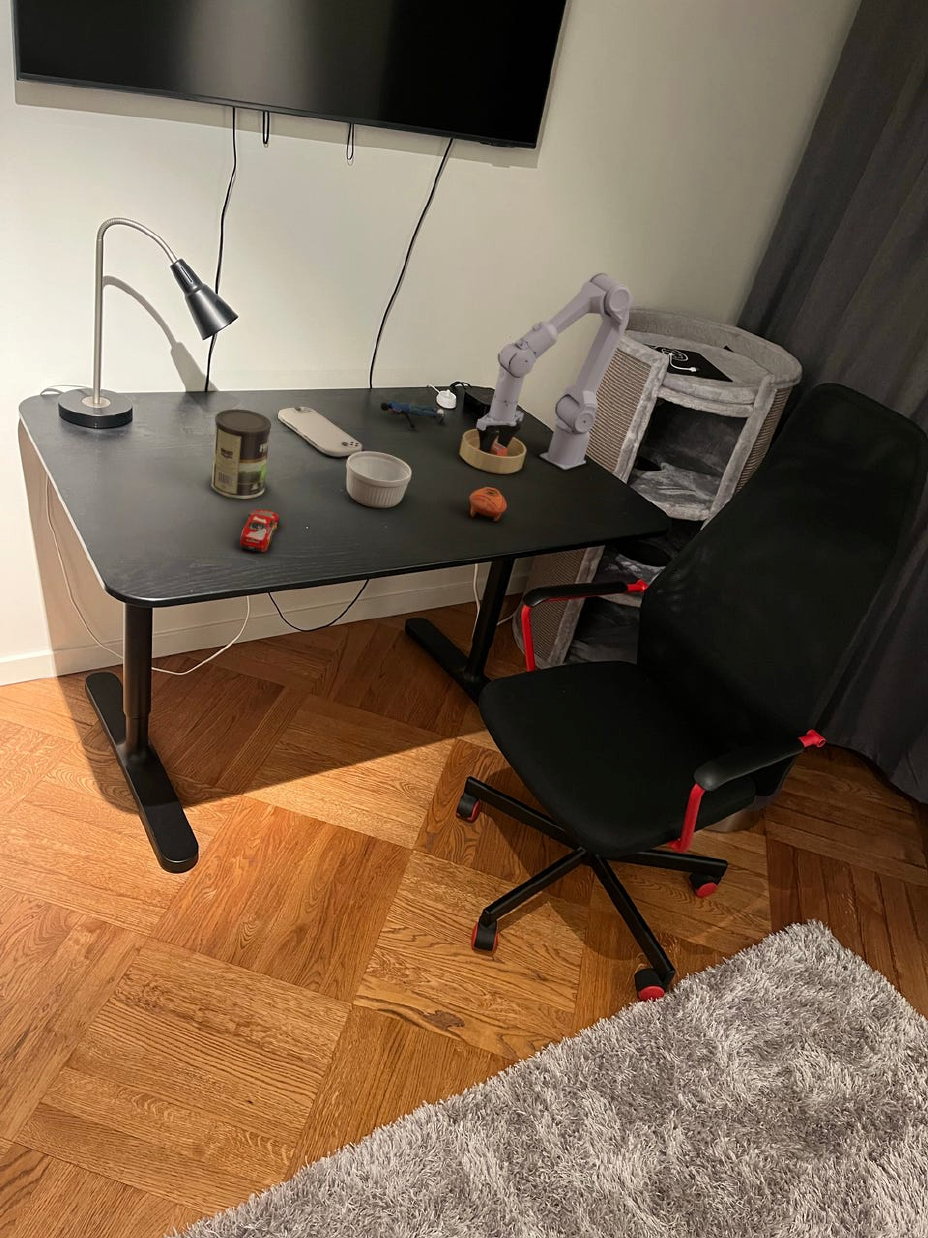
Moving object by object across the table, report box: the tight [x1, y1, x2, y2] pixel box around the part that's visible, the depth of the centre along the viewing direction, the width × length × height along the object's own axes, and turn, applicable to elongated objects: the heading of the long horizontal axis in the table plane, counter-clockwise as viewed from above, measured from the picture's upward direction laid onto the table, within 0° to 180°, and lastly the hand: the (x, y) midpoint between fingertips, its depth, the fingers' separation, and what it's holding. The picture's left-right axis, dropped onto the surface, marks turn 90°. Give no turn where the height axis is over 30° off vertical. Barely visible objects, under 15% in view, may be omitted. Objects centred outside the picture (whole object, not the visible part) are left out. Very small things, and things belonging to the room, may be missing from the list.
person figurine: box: [379, 400, 446, 431], centre depth 224 cm, size 11×4×18 cm
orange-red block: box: [478, 441, 508, 457], centre depth 214 cm, size 4×6×4 cm
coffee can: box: [210, 408, 272, 500], centre depth 175 cm, size 10×10×14 cm
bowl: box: [459, 428, 527, 475], centre depth 214 cm, size 15×15×4 cm
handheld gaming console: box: [277, 406, 364, 459], centre depth 205 cm, size 23×3×10 cm
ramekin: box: [345, 450, 412, 509], centre depth 186 cm, size 13×13×7 cm
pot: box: [469, 486, 508, 522], centre depth 190 cm, size 8×8×7 cm
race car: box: [239, 509, 280, 553], centre depth 165 cm, size 13×5×4 cm, turn 177°
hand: (492, 452), depth 215 cm, fingers open, 6 cm apart
